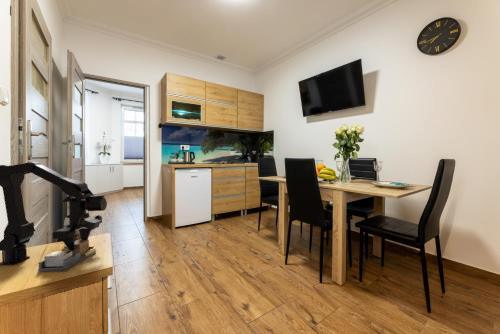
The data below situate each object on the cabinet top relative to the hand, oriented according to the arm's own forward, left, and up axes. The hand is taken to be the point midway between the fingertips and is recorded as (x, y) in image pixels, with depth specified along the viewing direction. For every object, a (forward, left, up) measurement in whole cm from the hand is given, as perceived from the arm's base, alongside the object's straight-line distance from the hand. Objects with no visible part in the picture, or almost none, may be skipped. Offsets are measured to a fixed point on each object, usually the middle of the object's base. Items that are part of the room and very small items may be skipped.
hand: (78, 247), depth 91 cm
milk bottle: (-12, +13, -4) cm, 18 cm away
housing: (0, 0, -3) cm, 3 cm away
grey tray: (0, -5, -4) cm, 6 cm away
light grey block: (0, -9, -2) cm, 9 cm away
